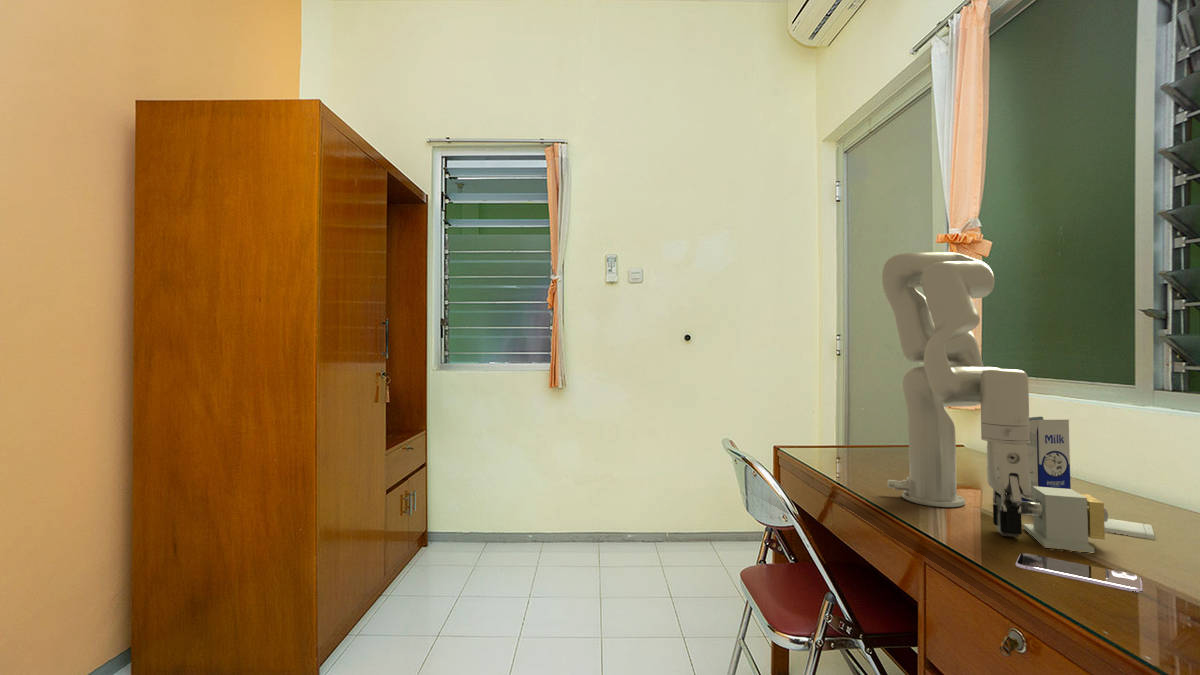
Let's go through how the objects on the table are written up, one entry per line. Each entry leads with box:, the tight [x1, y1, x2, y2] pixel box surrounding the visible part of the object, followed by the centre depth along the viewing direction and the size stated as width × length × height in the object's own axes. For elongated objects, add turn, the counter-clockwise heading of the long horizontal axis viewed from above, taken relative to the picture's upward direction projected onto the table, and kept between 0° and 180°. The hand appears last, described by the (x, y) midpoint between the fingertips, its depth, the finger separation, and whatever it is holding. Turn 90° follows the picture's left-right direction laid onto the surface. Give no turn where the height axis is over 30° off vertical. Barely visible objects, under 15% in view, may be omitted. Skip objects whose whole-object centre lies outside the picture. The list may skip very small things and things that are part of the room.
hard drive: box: [1104, 518, 1156, 541], centre depth 110 cm, size 2×8×12 cm
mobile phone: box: [1015, 552, 1144, 593], centre depth 88 cm, size 8×1×15 cm
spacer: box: [1080, 493, 1106, 540], centre depth 101 cm, size 2×6×6 cm, turn 157°
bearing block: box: [1022, 486, 1095, 553], centre depth 103 cm, size 7×12×9 cm, turn 157°
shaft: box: [995, 494, 1109, 538], centre depth 103 cm, size 16×4×7 cm, turn 67°
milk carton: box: [1020, 416, 1072, 502], centre depth 127 cm, size 7×7×20 cm
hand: (1007, 528), depth 106 cm, fingers closed on shaft, 4 cm apart
